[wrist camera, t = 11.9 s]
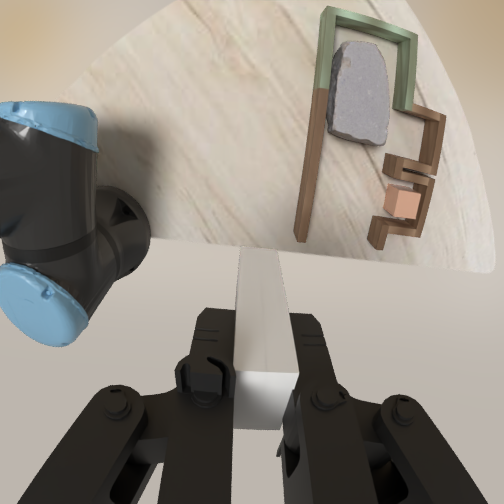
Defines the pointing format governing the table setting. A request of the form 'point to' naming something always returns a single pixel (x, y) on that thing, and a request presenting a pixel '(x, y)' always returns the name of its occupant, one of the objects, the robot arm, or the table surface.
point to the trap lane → (400, 102)
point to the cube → (401, 201)
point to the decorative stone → (358, 94)
